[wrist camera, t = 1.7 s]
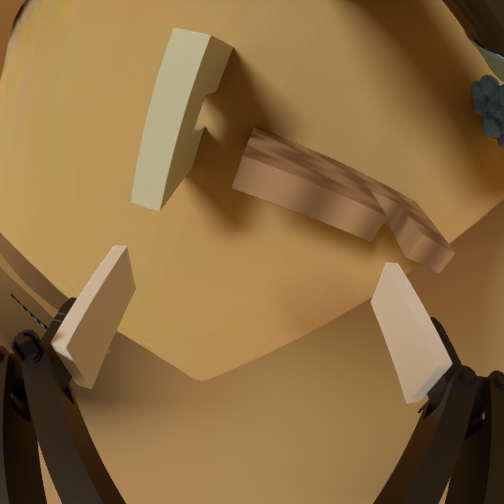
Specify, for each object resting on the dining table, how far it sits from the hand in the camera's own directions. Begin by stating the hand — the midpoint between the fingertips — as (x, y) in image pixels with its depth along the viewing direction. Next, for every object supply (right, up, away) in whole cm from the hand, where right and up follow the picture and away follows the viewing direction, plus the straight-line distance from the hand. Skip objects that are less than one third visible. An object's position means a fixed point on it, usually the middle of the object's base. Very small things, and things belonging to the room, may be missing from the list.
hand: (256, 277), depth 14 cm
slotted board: (+11, +11, +20) cm, 25 cm away
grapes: (+29, +20, +12) cm, 37 cm away
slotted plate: (-6, +18, +16) cm, 25 cm away
